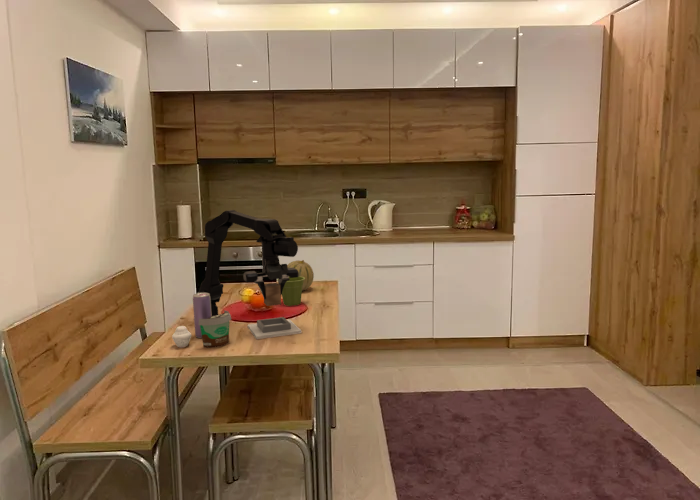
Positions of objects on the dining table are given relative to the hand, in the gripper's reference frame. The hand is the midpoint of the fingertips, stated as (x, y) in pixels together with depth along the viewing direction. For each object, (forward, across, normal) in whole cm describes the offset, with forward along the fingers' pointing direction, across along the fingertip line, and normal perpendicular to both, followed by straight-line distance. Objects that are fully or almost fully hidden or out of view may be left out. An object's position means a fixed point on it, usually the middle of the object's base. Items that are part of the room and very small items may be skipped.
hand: (272, 298), depth 190 cm
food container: (+12, -20, -8) cm, 25 cm away
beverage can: (+12, -24, +4) cm, 27 cm away
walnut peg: (+2, 0, 0) cm, 2 cm away
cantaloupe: (+12, +26, +58) cm, 65 cm away
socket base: (+12, 0, 0) cm, 12 cm away
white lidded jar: (+12, -32, -4) cm, 34 cm away
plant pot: (+12, +16, +34) cm, 39 cm away
